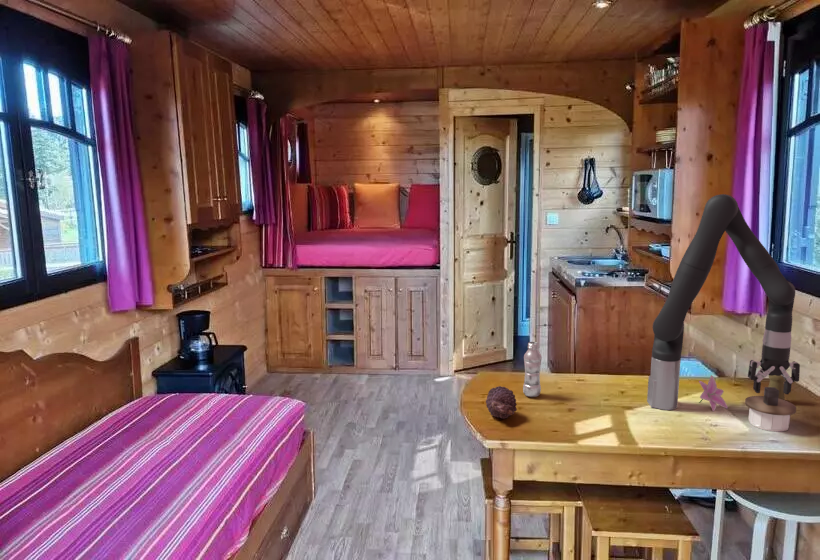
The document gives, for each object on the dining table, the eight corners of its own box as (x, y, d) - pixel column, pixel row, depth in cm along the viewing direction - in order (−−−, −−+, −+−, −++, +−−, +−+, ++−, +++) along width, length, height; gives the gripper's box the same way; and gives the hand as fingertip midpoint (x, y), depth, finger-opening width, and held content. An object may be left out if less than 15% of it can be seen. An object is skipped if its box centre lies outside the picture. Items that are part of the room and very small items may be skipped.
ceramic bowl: (757, 430, 187) (759, 412, 186) (743, 416, 198) (744, 399, 197) (795, 432, 186) (797, 414, 185) (778, 418, 196) (780, 401, 195)
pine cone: (480, 406, 208) (480, 379, 207) (507, 405, 209) (508, 377, 208) (492, 427, 191) (493, 397, 189) (522, 425, 192) (523, 396, 190)
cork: (787, 405, 207) (790, 375, 205) (768, 404, 208) (771, 374, 207) (780, 399, 213) (783, 369, 211) (762, 398, 214) (765, 368, 212)
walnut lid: (756, 414, 185) (757, 395, 184) (738, 397, 198) (739, 380, 197) (804, 416, 183) (806, 397, 182) (783, 399, 197) (784, 382, 196)
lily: (692, 413, 204) (708, 394, 199) (681, 389, 214) (696, 370, 208) (723, 422, 205) (740, 403, 200) (710, 398, 215) (726, 379, 210)
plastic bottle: (543, 394, 219) (545, 342, 216) (536, 400, 213) (538, 346, 210) (526, 391, 223) (528, 339, 219) (519, 397, 217) (521, 344, 213)
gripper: (757, 346, 184) (752, 396, 187) (807, 348, 183) (801, 398, 185) (747, 340, 192) (742, 388, 195) (795, 341, 190) (789, 389, 193)
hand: (771, 393), depth 190 cm, fingers open, 8 cm apart
